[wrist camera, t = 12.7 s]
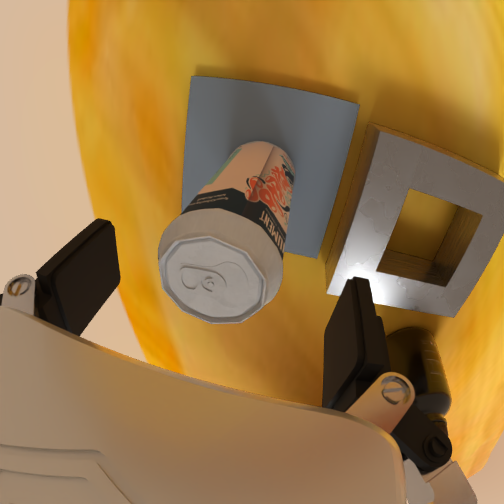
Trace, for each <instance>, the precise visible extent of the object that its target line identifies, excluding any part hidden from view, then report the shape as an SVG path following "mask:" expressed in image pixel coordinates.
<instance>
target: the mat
mask: <svg viewBox="0 0 504 504" xmlns="http://www.w3.org/2000/svg"><path fill="white" fill-rule="evenodd" d="M359 106H360V105H359V104H356V103H353V102H349V101H346V100H342V99H338V98H334V97H330V96H326V95H322V94H317V93H313V92H308V91H304V90H299V89H294V88H289V87H283V86H278V85H272V84H266V83H259V82H252V81H245V80H237V79H228V78H218V77H206V76H191V84H190V94H189V103H188V114H187V125H186V138H185V152H184V168H183V188H182V212H183V211H184V210H185V209H186V207H187V206H188V205H189V204H190V203H191V201H192V200H193V199H194V198H195V197H196V195H197V194H198V193H199V192H200V191H201V190H202V188H203V187H204V186H205V185H206V184H207V183H208V181H209V180H210V179H211V178H212V177H213V176H214V175H215V173H216V172H217V171H218V170H219V169H220V168H221V167H222V165H223V164H224V163H225V162H226V161H227V160H228V158H229V157H230V155H231V154H232V153H233V152H234V151H235V150H236V149H237V148H238V147H239V146H241V145H243V144H246V143H248V142H253V141H264V142H269V143H272V144H274V145H276V146H278V147H280V148H281V149H282V150H284V151H285V152H286V153H287V154H288V156H289V157H290V159H291V161H292V162H293V165H294V168H295V183H294V187H293V190H292V197H291V205H290V212H289V219H288V226H287V233H286V240H285V247H284V252H289V253H293V254H298V255H302V256H307V257H312V258H316V259H317V257H318V254H319V251H320V248H321V244H322V241H323V238H324V235H325V232H326V228H327V225H328V222H329V219H330V215H331V212H332V209H333V205H334V202H335V198H336V195H337V191H338V188H339V184H340V181H341V177H342V173H343V170H344V166H345V162H346V159H347V155H348V151H349V147H350V143H351V139H352V135H353V131H354V127H355V123H356V119H357V115H358V110H359Z"/></svg>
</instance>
